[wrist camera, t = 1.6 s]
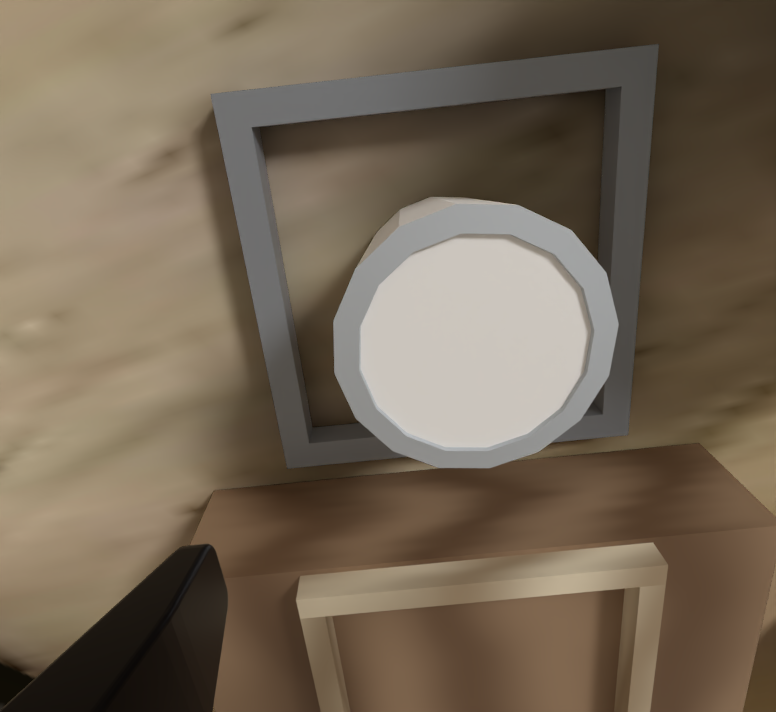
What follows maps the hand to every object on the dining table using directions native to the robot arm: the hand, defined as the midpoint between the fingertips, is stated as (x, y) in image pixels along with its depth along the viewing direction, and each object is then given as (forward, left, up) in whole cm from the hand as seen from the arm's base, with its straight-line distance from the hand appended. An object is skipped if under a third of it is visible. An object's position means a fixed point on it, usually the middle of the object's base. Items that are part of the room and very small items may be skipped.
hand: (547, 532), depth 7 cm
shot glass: (0, 0, -13) cm, 13 cm away
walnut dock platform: (0, +14, -13) cm, 19 cm away
